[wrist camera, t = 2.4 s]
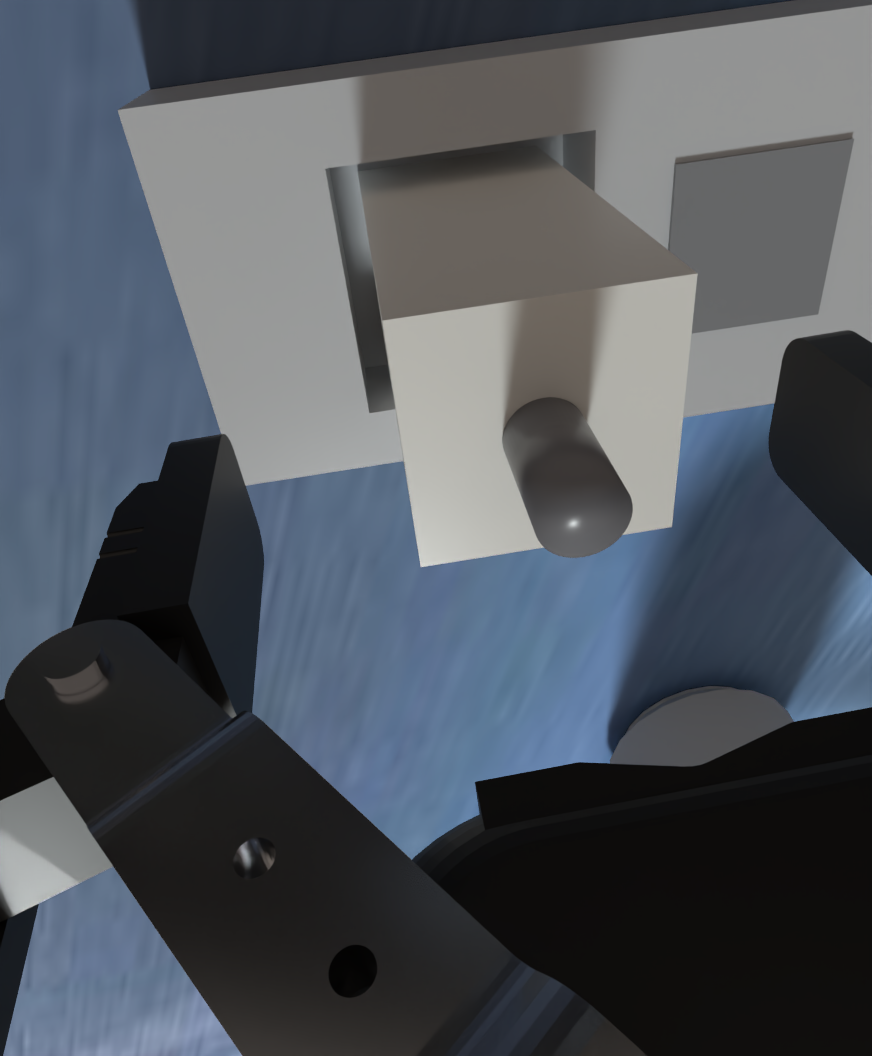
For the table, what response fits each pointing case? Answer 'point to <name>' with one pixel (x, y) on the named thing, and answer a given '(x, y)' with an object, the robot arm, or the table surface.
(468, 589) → the table surface
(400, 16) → the table surface
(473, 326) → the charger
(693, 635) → the table surface
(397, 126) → the power strip
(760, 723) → the can
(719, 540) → the table surface
